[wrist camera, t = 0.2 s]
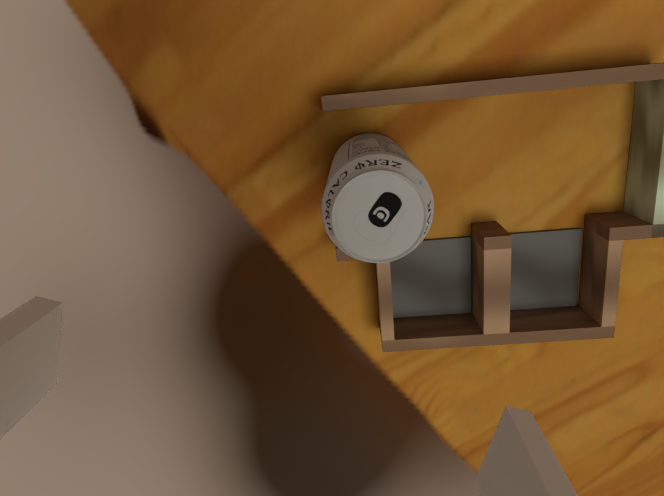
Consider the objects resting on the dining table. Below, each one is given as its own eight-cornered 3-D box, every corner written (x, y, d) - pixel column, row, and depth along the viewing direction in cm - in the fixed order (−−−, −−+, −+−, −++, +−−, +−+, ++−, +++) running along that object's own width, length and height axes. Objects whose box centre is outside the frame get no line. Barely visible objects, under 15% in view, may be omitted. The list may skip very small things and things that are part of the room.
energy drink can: (316, 180, 39) (296, 233, 25) (359, 116, 37) (364, 132, 23) (378, 221, 40) (392, 295, 25) (422, 160, 38) (464, 202, 24)
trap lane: (324, 95, 37) (321, 96, 33) (651, 63, 35) (687, 60, 31) (346, 330, 43) (345, 354, 39) (625, 312, 41) (653, 335, 38)
